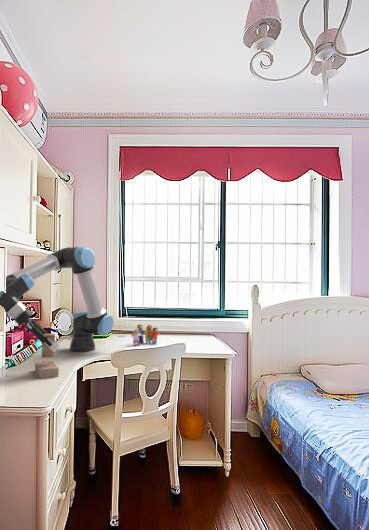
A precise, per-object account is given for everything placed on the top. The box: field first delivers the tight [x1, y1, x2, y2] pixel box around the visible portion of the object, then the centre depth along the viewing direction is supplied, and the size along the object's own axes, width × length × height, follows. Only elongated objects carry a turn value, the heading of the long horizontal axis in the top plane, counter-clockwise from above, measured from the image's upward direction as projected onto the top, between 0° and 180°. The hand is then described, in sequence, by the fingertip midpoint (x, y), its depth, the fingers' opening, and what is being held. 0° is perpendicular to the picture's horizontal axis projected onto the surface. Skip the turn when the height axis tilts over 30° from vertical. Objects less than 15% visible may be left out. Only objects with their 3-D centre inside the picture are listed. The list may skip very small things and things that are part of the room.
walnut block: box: [41, 333, 56, 359], centre depth 174 cm, size 5×5×10 cm
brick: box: [34, 359, 60, 380], centre depth 173 cm, size 16×8×5 cm, turn 29°
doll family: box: [131, 324, 161, 347], centre depth 250 cm, size 21×10×13 cm, turn 123°
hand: (57, 348), depth 175 cm, fingers closed on walnut block, 5 cm apart
